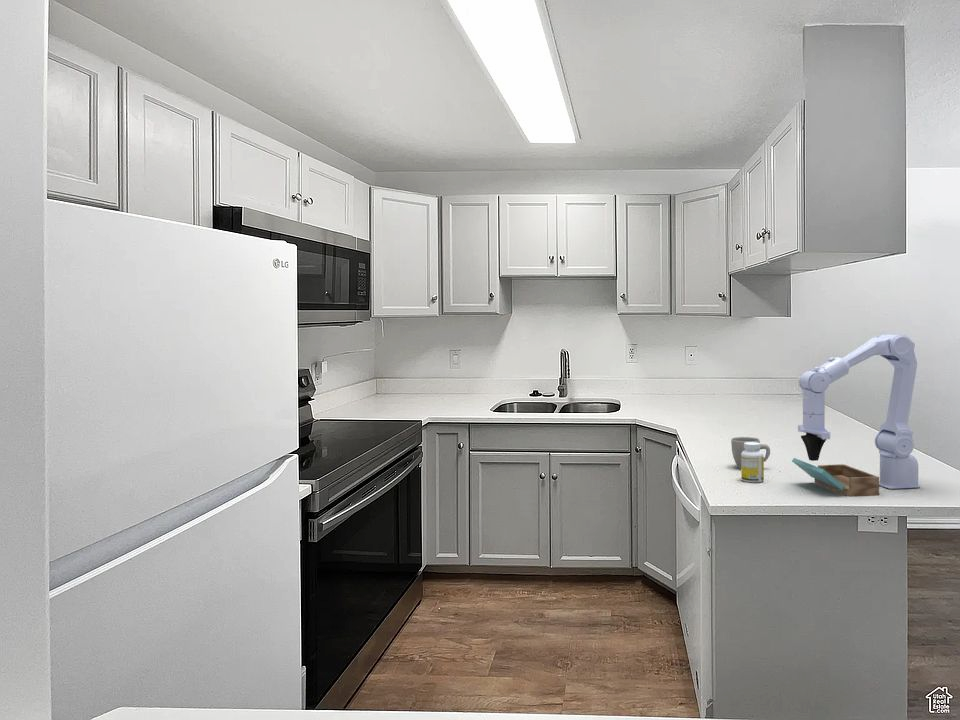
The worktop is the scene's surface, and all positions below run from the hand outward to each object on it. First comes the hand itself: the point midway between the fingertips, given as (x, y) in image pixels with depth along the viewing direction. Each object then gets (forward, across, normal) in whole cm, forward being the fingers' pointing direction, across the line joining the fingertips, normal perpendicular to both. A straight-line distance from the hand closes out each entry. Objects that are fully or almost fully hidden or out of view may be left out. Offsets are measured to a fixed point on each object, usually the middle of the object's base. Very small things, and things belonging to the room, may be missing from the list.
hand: (813, 460), depth 217 cm
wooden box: (+9, 0, +10) cm, 13 cm away
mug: (+9, -31, -5) cm, 33 cm away
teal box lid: (+6, 0, +4) cm, 8 cm away
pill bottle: (+9, -14, -12) cm, 20 cm away
